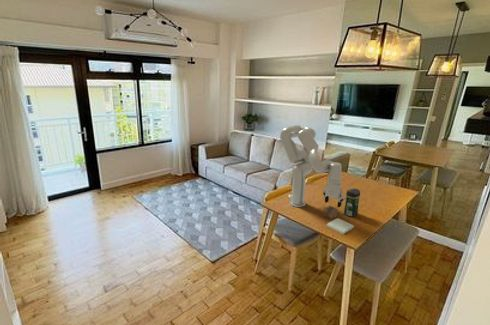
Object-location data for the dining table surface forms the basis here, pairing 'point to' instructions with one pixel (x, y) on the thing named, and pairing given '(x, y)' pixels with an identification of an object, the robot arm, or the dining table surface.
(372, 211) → the dining table surface
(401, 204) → the dining table surface
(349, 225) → the plate
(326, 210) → the walnut cube
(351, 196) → the coffee jar
